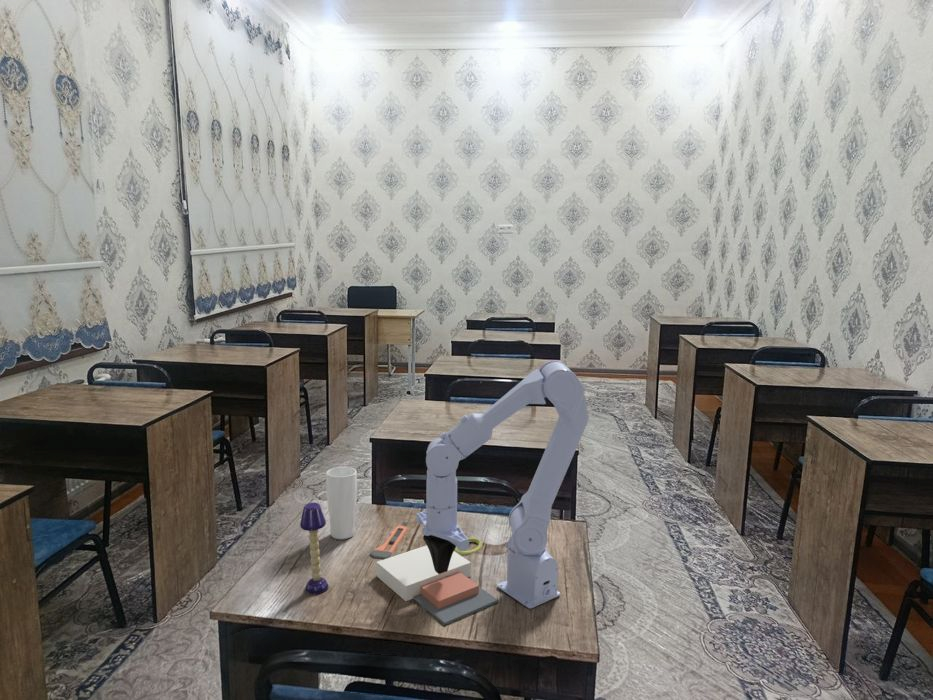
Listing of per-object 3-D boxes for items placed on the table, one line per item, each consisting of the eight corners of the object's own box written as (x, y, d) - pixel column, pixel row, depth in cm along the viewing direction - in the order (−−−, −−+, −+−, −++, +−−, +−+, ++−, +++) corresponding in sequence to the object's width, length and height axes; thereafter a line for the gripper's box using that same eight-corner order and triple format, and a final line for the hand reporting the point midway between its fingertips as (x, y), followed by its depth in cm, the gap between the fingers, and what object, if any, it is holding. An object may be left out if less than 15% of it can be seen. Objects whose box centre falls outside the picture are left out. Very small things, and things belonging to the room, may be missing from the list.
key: (436, 533, 142) (436, 525, 142) (485, 545, 137) (486, 536, 137) (420, 547, 136) (421, 538, 136) (472, 560, 131) (472, 550, 131)
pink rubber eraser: (478, 593, 117) (478, 585, 116) (438, 608, 111) (438, 601, 111) (460, 579, 121) (460, 572, 121) (420, 593, 116) (420, 586, 116)
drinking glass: (321, 539, 138) (319, 475, 136) (336, 526, 144) (335, 464, 142) (349, 544, 136) (348, 478, 134) (363, 530, 142) (362, 468, 140)
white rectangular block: (470, 576, 123) (470, 562, 123) (405, 601, 114) (405, 586, 114) (439, 554, 132) (439, 541, 132) (376, 576, 123) (376, 561, 123)
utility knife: (368, 554, 130) (394, 518, 148) (368, 558, 131) (394, 522, 148) (388, 556, 130) (411, 520, 147) (388, 561, 130) (411, 524, 147)
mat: (498, 602, 114) (498, 599, 114) (444, 625, 107) (444, 622, 107) (465, 579, 122) (465, 576, 122) (413, 599, 115) (413, 596, 115)
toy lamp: (302, 596, 116) (299, 511, 113) (302, 583, 120) (299, 501, 117) (329, 592, 117) (326, 508, 114) (327, 580, 121) (325, 498, 119)
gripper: (402, 495, 119) (403, 561, 121) (446, 522, 108) (446, 595, 110) (433, 487, 123) (433, 551, 125) (478, 512, 112) (477, 582, 114)
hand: (441, 571), depth 118 cm, fingers closed
